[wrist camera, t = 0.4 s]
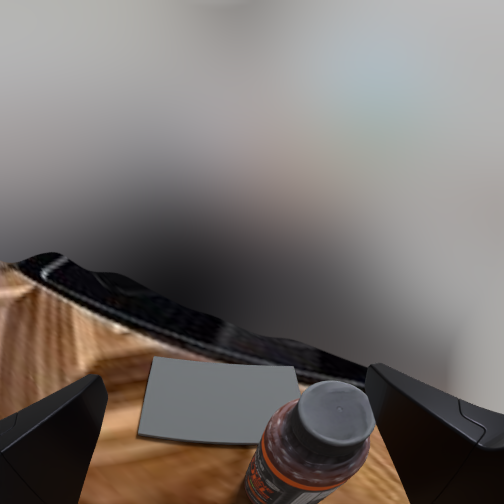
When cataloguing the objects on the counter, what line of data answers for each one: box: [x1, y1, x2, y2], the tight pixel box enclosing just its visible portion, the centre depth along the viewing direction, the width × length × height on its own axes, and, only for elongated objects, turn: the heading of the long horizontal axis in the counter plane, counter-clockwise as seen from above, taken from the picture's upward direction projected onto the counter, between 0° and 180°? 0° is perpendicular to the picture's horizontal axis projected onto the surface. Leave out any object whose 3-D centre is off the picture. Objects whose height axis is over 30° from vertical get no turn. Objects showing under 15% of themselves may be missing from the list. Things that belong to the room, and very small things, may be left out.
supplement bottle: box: [245, 381, 376, 504], centre depth 14 cm, size 6×6×11 cm
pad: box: [138, 356, 301, 445], centre depth 23 cm, size 9×14×1 cm, turn 95°
